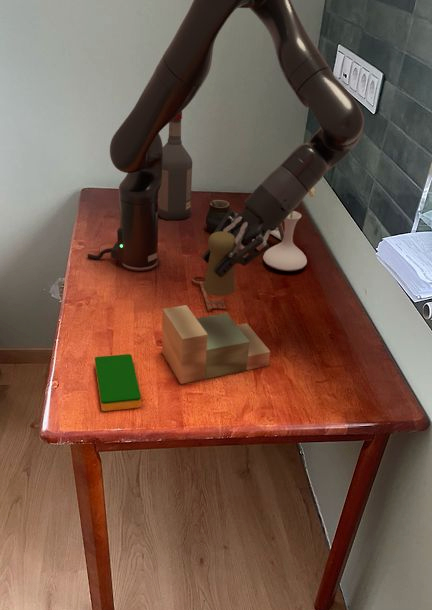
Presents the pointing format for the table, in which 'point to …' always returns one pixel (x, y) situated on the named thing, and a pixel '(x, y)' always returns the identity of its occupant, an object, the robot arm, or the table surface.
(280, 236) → the tablet stand
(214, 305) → the key
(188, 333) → the stepped block
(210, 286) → the brown pawn figure
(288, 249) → the flower in vase
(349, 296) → the table surface
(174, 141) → the liquor
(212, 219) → the mate gourd
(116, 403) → the dish sponge
